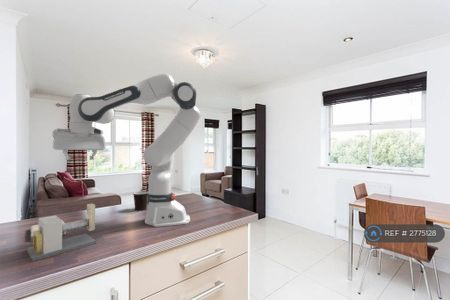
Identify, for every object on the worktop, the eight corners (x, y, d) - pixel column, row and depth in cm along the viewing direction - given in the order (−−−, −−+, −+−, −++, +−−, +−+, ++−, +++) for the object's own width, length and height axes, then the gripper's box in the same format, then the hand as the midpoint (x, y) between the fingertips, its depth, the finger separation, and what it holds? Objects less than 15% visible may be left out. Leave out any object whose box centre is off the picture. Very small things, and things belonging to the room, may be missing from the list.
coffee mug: (135, 207, 137) (135, 191, 137) (149, 207, 137) (150, 191, 137) (129, 212, 125) (129, 195, 125) (144, 212, 126) (144, 195, 126)
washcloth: (30, 243, 84) (30, 235, 84) (29, 230, 98) (29, 223, 98) (68, 235, 93) (68, 228, 93) (62, 224, 106) (62, 218, 106)
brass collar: (38, 247, 78) (38, 229, 78) (42, 252, 74) (42, 234, 74) (32, 248, 77) (33, 231, 77) (36, 254, 73) (36, 235, 73)
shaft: (92, 227, 90) (92, 203, 90) (94, 229, 88) (95, 204, 88) (44, 239, 78) (44, 210, 78) (46, 241, 76) (46, 212, 76)
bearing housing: (85, 235, 92) (86, 209, 92) (95, 243, 84) (96, 214, 84) (26, 250, 78) (26, 219, 78) (32, 261, 70) (32, 227, 70)
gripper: (54, 127, 91) (54, 160, 91) (106, 131, 107) (106, 159, 107) (50, 128, 95) (50, 160, 95) (101, 131, 111) (101, 159, 111)
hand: (80, 159), depth 101 cm, fingers open, 8 cm apart
